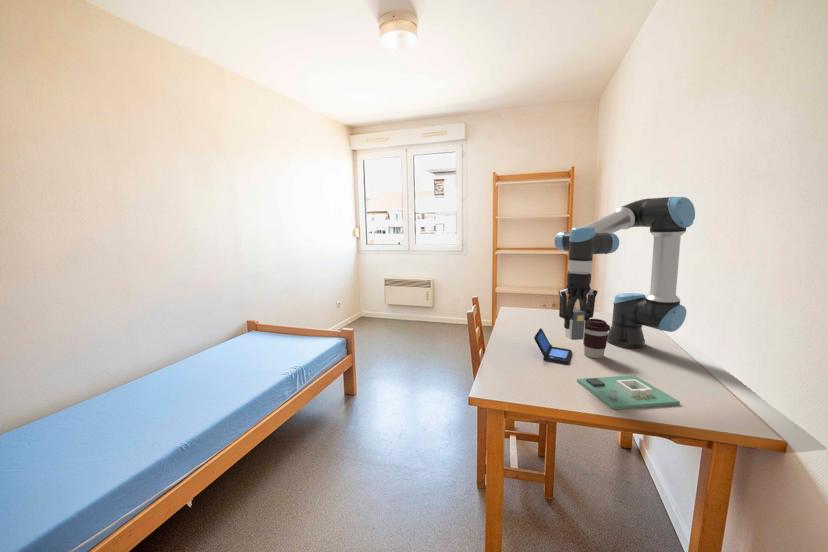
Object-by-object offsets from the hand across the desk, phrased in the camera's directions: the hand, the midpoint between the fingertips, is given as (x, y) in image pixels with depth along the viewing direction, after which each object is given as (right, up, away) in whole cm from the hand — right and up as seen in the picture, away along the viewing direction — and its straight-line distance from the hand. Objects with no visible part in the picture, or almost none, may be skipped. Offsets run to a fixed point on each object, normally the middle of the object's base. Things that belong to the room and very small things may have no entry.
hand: (574, 336), depth 120 cm
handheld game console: (+1, -12, +21) cm, 24 cm away
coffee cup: (+18, -12, +21) cm, 29 cm away
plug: (0, 0, 0) cm, 0 cm away
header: (+14, -15, -11) cm, 24 cm away
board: (+12, -16, -10) cm, 22 cm away
